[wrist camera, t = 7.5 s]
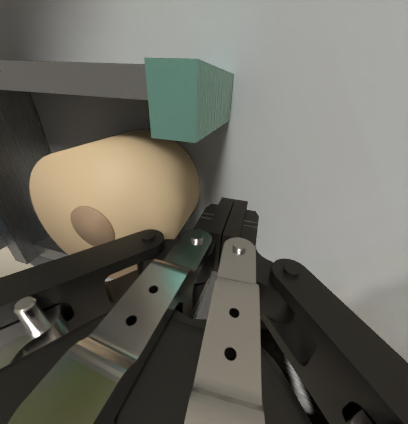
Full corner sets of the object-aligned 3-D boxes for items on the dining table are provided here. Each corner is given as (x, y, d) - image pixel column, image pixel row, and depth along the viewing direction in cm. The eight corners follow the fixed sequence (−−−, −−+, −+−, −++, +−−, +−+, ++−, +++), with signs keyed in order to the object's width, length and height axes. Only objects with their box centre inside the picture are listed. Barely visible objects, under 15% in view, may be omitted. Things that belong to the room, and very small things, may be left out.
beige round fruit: (198, 130, 12) (145, 158, 7) (201, 230, 16) (168, 295, 11) (97, 128, 14) (-1, 148, 9) (120, 218, 18) (60, 268, 13)
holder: (233, 74, 10) (197, 58, 5) (214, 263, 17) (191, 331, 12) (7, 65, 14) (-142, 51, 9) (67, 227, 21) (2, 269, 16)
